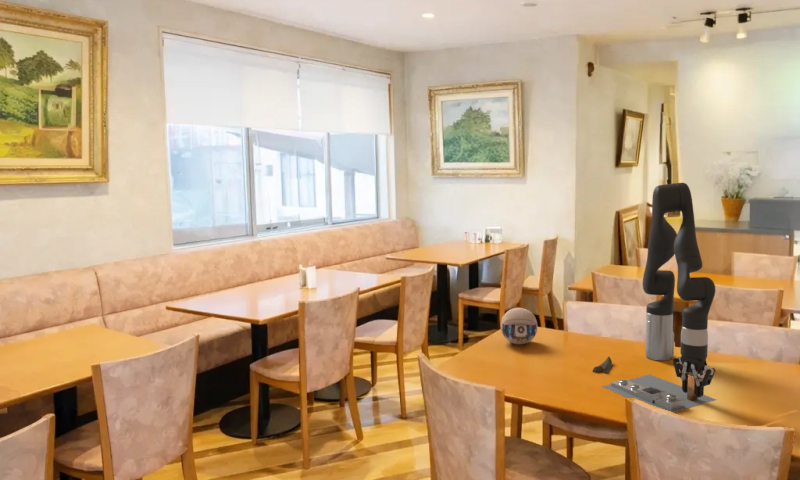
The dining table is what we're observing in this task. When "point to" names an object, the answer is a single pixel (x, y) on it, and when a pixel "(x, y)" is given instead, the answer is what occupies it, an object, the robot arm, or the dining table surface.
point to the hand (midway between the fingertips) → (692, 394)
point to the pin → (691, 388)
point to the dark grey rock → (604, 366)
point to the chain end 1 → (631, 388)
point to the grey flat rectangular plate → (664, 386)
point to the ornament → (519, 326)
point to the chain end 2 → (662, 398)
